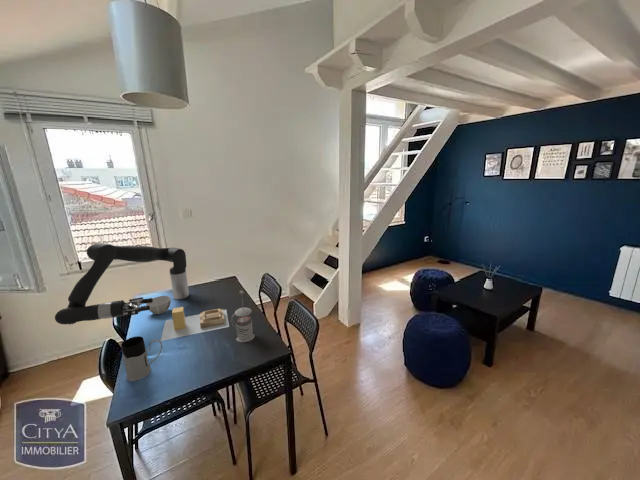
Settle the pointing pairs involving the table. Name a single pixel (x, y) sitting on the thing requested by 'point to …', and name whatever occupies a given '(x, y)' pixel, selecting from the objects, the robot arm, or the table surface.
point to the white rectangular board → (189, 327)
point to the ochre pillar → (178, 318)
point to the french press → (245, 331)
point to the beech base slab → (211, 318)
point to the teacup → (159, 304)
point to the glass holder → (136, 358)
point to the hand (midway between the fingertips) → (151, 303)
